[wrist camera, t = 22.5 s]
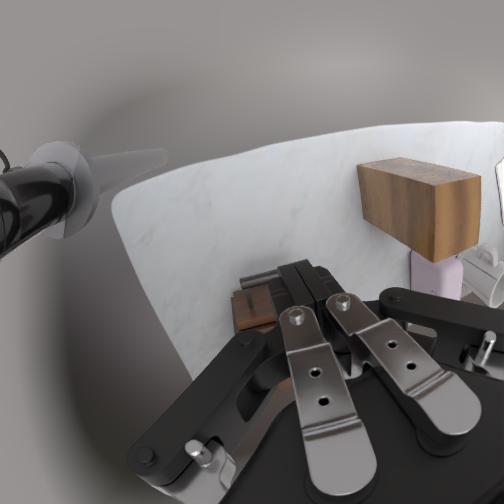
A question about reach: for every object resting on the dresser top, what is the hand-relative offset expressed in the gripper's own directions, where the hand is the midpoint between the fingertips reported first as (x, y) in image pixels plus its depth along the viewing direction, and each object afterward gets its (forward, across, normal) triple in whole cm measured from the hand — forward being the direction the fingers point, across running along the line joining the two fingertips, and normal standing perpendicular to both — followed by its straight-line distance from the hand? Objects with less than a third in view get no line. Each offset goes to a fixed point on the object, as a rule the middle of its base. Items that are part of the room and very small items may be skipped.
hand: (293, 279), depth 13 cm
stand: (+23, -20, +3) cm, 31 cm away
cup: (+23, -41, +22) cm, 52 cm away
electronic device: (+23, -27, +19) cm, 40 cm away
